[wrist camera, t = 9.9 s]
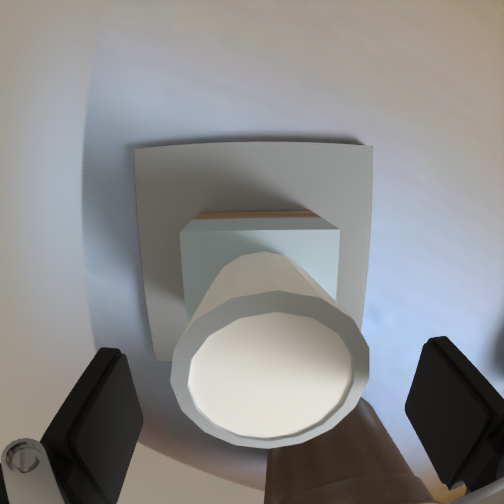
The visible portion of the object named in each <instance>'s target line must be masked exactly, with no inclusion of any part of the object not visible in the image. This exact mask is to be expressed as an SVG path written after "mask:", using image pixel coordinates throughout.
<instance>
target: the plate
mask: <svg viewBox="0 0 504 504" xmlns="http://www.w3.org/2000/svg"><path fill="white" fill-rule="evenodd" d="M134 165H135V190H136V208H137V222H138V234H139V246H140V256H141V265H142V274H143V282H144V290H145V298H146V305H147V312H148V319H149V325H150V331H151V337H152V343H153V349H154V354H155V360H156V361H164V362H172V359H173V351H174V349H175V347H176V345H177V343H178V342H179V340H180V338H181V336H182V335H183V333H184V331H185V329H186V328H187V319H186V309H185V299H184V288H183V276H182V264H181V250H180V234H179V232H180V231H181V230H182V229H183V228H184V227H185V226H186V225H187V224H188V223H189V222H190V221H191V220H192V219H193V218H194V217H196V216H197V215H198V214H199V213H200V212H201V211H230V210H311V211H313V212H314V213H316V214H317V215H319V216H320V217H322V218H323V219H325V220H326V221H328V222H329V223H331V224H333V225H334V226H336V227H337V228H339V229H340V242H339V261H338V276H337V290H336V302H337V303H338V304H339V305H340V306H341V307H342V308H343V309H344V310H345V311H346V312H347V313H348V314H349V315H350V316H351V317H352V318H353V319H354V321H355V323H356V325H357V327H358V328H359V330H360V332H361V325H362V317H363V309H364V301H365V292H366V283H367V272H368V261H369V248H370V233H371V213H372V180H373V146H366V145H352V144H336V143H313V142H223V143H200V144H183V145H169V146H157V147H146V148H136V149H134Z"/></svg>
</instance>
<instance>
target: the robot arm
mask: <svg viewBox="0 0 504 504" xmlns="http://www.w3.org/2000/svg"><path fill="white" fill-rule="evenodd" d="M405 413H406V415H407V417H408V419H409V420H410V422H411V424H412V426H413V428H414V430H415V432H416V434H417V435H418V437H419V439H420V441H421V443H422V445H423V447H424V449H425V451H426V453H427V455H428V457H429V459H430V461H431V463H432V464H433V466H434V468H435V470H436V472H437V474H438V476H439V479H440V481H441V482H442V483H443V484H446V485H447V487H448V489H449V491H450V490H453V489H455V488H457V487H460V486H462V485H463V484H464V483H465V485H466V487H467V489H466V492H465V495H464V496H462V497H460V498H457V499H455V500H452V501H450V502H447V503H445V504H504V399H503V398H502V396H501V395H500V394H499V393H498V392H497V391H496V390H495V388H494V387H493V386H492V385H491V384H490V383H489V382H488V380H487V379H486V378H485V377H484V376H483V375H482V374H481V373H480V372H479V370H478V369H477V368H476V367H475V366H474V365H473V364H472V363H471V362H470V361H469V360H468V359H467V357H466V356H465V355H464V354H463V353H462V352H461V351H460V350H459V349H458V348H457V347H456V346H455V345H454V344H453V343H452V342H451V341H450V340H449V339H448V338H447V337H446V336H440V337H434V338H430V339H429V340H428V341H427V343H425V344H424V345H423V348H422V352H421V355H420V359H419V362H418V366H417V369H416V373H415V376H414V379H413V382H412V385H411V388H410V391H409V394H408V397H407V400H406V403H405ZM142 425H143V414H142V411H141V408H140V404H139V401H138V398H137V394H136V391H135V387H134V384H133V380H132V376H131V373H130V369H129V365H128V361H127V357H126V355H125V354H121V351H120V350H119V349H116V348H104V347H102V348H100V349H99V351H98V352H97V354H96V355H95V356H94V358H93V360H92V361H91V362H90V364H89V365H88V367H87V368H86V370H85V371H84V373H83V374H82V376H81V377H80V379H79V380H78V382H77V383H76V385H75V386H74V388H73V389H72V391H71V392H70V394H69V395H68V397H67V398H66V400H65V401H64V403H63V405H62V406H61V408H60V409H59V411H58V413H57V414H56V415H55V417H54V419H53V420H52V422H51V423H50V425H49V427H48V428H47V430H46V432H45V433H44V435H43V437H42V439H41V441H40V442H38V441H36V440H33V439H29V438H22V439H17V440H15V441H13V442H11V443H10V444H8V445H7V446H6V448H5V449H4V450H3V452H2V455H1V464H0V504H116V503H117V501H118V498H119V495H120V492H121V489H122V486H123V482H124V479H125V476H126V473H127V470H128V467H129V464H130V461H131V458H132V455H133V452H134V449H135V446H136V443H137V440H138V437H139V434H140V431H141V429H142Z"/></svg>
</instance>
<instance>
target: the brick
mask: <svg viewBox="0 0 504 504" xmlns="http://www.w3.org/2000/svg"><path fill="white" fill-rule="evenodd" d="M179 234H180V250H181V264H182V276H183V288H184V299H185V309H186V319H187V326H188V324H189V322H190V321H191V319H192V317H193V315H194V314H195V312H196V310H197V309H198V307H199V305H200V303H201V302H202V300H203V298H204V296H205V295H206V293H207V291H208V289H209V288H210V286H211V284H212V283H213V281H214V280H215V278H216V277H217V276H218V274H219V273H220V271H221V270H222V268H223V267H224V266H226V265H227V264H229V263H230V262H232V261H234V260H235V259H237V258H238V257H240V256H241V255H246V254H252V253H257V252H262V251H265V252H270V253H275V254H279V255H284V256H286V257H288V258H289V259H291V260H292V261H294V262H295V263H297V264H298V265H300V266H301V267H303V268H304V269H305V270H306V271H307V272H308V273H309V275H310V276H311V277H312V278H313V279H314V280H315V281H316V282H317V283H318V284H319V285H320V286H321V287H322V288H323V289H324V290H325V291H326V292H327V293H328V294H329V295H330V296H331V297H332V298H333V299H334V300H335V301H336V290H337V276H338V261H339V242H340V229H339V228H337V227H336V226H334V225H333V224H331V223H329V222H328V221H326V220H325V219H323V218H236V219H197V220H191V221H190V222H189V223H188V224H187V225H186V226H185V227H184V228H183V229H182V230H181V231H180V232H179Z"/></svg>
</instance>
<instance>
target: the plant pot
mask: <svg viewBox="0 0 504 504" xmlns="http://www.w3.org/2000/svg"><path fill="white" fill-rule="evenodd" d="M264 504H442V503H441V502H438V501H435V500H434V498H433V497H432V495H431V494H430V492H429V491H428V489H427V488H426V486H425V485H424V483H423V482H422V480H421V479H420V478H418V477H416V476H415V475H414V474H413V472H412V470H411V469H410V467H409V466H408V464H407V462H406V461H405V459H404V458H403V456H402V454H401V453H400V451H399V449H398V448H397V446H396V445H395V443H394V441H393V440H392V438H391V437H390V435H389V434H388V432H387V430H386V429H385V427H384V425H383V424H382V422H381V421H380V419H379V417H378V416H377V414H376V412H375V411H374V409H373V407H372V406H371V405H370V404H369V403H368V402H367V401H365V400H364V399H362V398H360V399H359V401H358V403H357V405H356V407H355V408H354V409H353V410H351V411H350V412H349V413H348V414H347V415H346V416H345V417H344V418H343V419H342V420H341V421H340V422H339V423H338V424H337V425H335V426H334V427H333V428H332V429H330V430H328V431H326V432H324V433H322V434H320V435H318V436H316V437H314V438H312V439H310V440H307V441H305V442H303V443H300V444H294V445H288V446H282V447H276V448H269V449H268V457H267V470H266V484H265V497H264Z"/></svg>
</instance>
